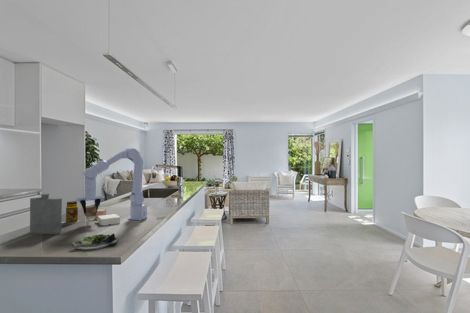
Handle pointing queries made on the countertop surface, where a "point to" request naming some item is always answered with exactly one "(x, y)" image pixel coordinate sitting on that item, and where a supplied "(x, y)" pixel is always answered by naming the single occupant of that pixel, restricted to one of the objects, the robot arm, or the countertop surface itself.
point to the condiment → (71, 212)
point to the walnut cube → (90, 211)
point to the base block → (108, 219)
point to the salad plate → (95, 242)
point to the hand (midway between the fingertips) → (90, 212)
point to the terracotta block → (100, 213)
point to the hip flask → (45, 215)
